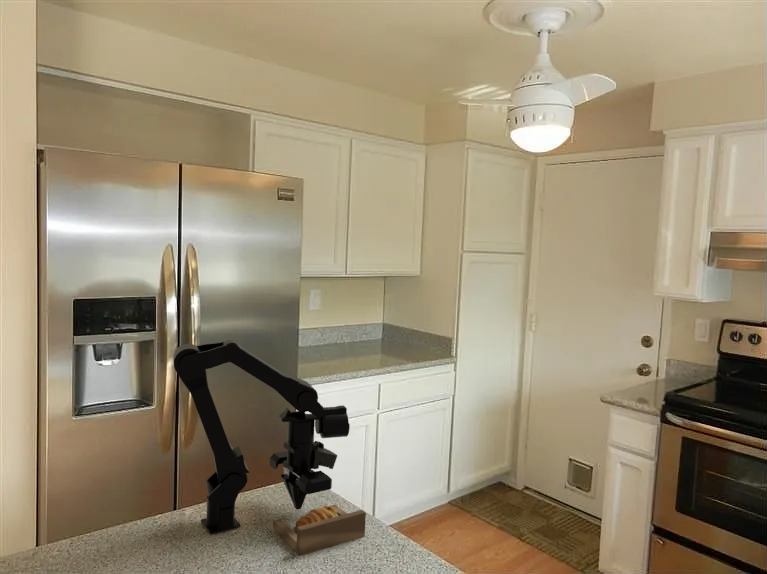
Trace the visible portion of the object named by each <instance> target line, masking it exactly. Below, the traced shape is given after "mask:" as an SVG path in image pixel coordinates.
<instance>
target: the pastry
mask: <svg viewBox="0 0 767 574" xmlns="http://www.w3.org/2000/svg"><path fill="white" fill-rule="evenodd" d="M337 516H338V515H337V511H336V510H335V509H334V508H333V507H332V505H324V506H323V507H318V508H313V509H311V510H309V511H308V513H306V514H305V515H302V516H301V517H300V518H299V519H297V520H296V522H295V527H294V531H295V532H297V527H300V526H303V525H307V524H311V523H315V522H318V521H322V520H326V519H329V518H333V517H337Z"/></svg>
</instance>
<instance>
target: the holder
mask: <svg viewBox="0 0 767 574" xmlns="http://www.w3.org/2000/svg"><path fill="white" fill-rule="evenodd" d="M331 506H332V507H333V508H334V509H335V510H336V511H337V515H338V516H337V517H333V518H329V519H326V520H322V521H318V522H315V523H311V524H307V525H303V526H300V527H297V531H295V530H293V529H292V528H291V527H290V526H289V525H288V524H287V523H285V521H283V520H282V519H281V518H278V519H274V520H273V522H272V526H273V527H272V530H273V531H274V532H275V534H277V535H278V536H279V537H280V538H281V539H282V540H283V541H284V542H285V543H286V544H287V545H289V547H290V548H292V550H293V551H294V552H295V553H296V554H297V555H299V556H304V555H306V554H309V553H313V552H316V551H321V550H323V549H326V548H330V547H333V546H336V545H339V544H343V543H347V542H350V541H353V540H356V539H360V538H363V537H365V536H366V520H367V519H366V518H367V517H366V516H367V513H366V511H364V510H363V509H360V510H356V511H352V512H348V513H347V512H346V511H344V509H342V508H341V507H339V506H338V505H336V504H332V505H331Z"/></svg>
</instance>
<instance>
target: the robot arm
mask: <svg viewBox="0 0 767 574" xmlns="http://www.w3.org/2000/svg"><path fill="white" fill-rule="evenodd" d="M172 361H173V368H174V370H175V372H176V373H177V375H178V377H179V379H180V380H181V382H182V383H183V385H184V387H186V389H187V390H188V392H189V393H190V395H191V398H192V400H193V403H194V405H195V408H196V410H197V413H198V415H199V419H200V422H201V424H202V427H203V429H204V432H205V435H206V438H207V440H208V443H209V445H210V447H211V451H212V454H213V461H214V467H215V471H214V472H213V473H212V474H211V475H210V476H209V477H208V478H207V479H206V480H205V485H206V491H207V495H206V518H201V519H200V524H201V525H202V526H203V527H204V528H205V529H206V531H207V532H208V533H209V534H210V535H213V534H214V535H215V534H217V533H221V532H225V531H230V530H233V529H238V528H240V527H241V525H242V524H241V523H240V522H239V521H238V520H237V519H236V518H235V515H236V501H237V499H238V495H239V493H240V492H241V491H242V490H243V489H244V488H245V487H246V485H247V484H248V476H247V475H248V474H249V473H250V470H249V467H248V465H247V463H246V460H245V459H244V455H243V452H242V449H241V447H240V445H237V446H236V447H234V446H232V444H231V443H230V441H229V439H228V436H227V433H226V431H225V427H224V425H223V423H222V420H221V417H220V414H219V411H218V409H217V407H216V404H215V401H214V399H213V396H212V393H211V391H210V387H209V383H208V377H207V375H208V374H207V370H209V369H212V368H215V367H218V366H221V365H223V364H228V363H231V364H233V365H235V366H237V367H238V368H239V369H241V370H243V371H244V372H246V373H248V374H250V375H251V376H253V377H254V378H255V379H257V380H259V381H260V382H261V383H264V384H265V385H267V386H269V387H270V388H272V389H273V390H275V392H277V393H278V394H279V395H280V396H281V397H282V398H283V399H284V400H285V401H287V402H288V403H289V405H290V406H292V407H293V408H294V409H295V411H293V410H291V409H289V408H288V407H286V408H285V410H284V411H282V412H281V413H280V414H279V415H278V417H279V420H280V421H281V422H283V423H287V441H285V442H283V448H284V449H286V450H285V451H279V452H273V453H272V455H271V456H270V457H269V466H270V467H271V468H272V469H273V470H277V469H278V468H279V465H282V469H283V473H282V474H281V475H280V478H281V479H282V482H283V484H284V486H285V487H286V491H287V493H288V495H289V497H290V499H291V502H292V504H293V507H294V509H295V510H301V509H302V507H303V505H304V502H305V499H306V496H307V495H311V494H316V493H320V492H324V491H330V490H331V489H332V488H333V485H332V484H333V479H332V478H331V477H330V476H329V475H328V474H327V473H324V472H323V471H322V470H318V471H315V470H317V469H320V466H321V467H325V468H328V469H330V470H333V469H334V466H335V463H336V462H337V461H336V460H337V458H338V454H337V453H335V452H333V451H331V450H330V449H327V448H326V447H325V445H324V443H323V442H321V441H318V440H315V433H316V435H319V436H320V438H321V439H329V438H330V439H331V438H345V437H346V438H347V437H348V436H349V433H350V429H351V428H350V423H349V418H348V417H349V416H348V413H347V411H348V410H347V409H348V408H347V407H346V406H345V405H344V404H343V405H336V406H327V407H325V406H323V405H322V404H321V403H320V402H319V401H318V399H319V395H318V392H317V390H316V389H315V388H314V387H313V386H312V385H311V384H310V383H309V382H308V381H306V380H304V379H301V378H299V377H297V376H294V375H291V374H287V373H285V372H283V371H280V370H279V369H277V368H276V367H275V366H272V365H271V364H270V363H268V362H267V361H265V360H263V359H262V358H260V357H258V356H257V355H255V354H253V353H252V352H251V351H249V350H247V349H246V348H244V347H243V346H241V345H240V344H239V343H238V342H237V341H235V340H232V339H227V340H225V341H221V342H214V343H211V342H210V343H204V344H199V345H195V344H192V343H184V344H181V345H179V346H178V347H177V348H176V349H175V350H174V353H173V355H172ZM306 412H309V413H306Z"/></svg>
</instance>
